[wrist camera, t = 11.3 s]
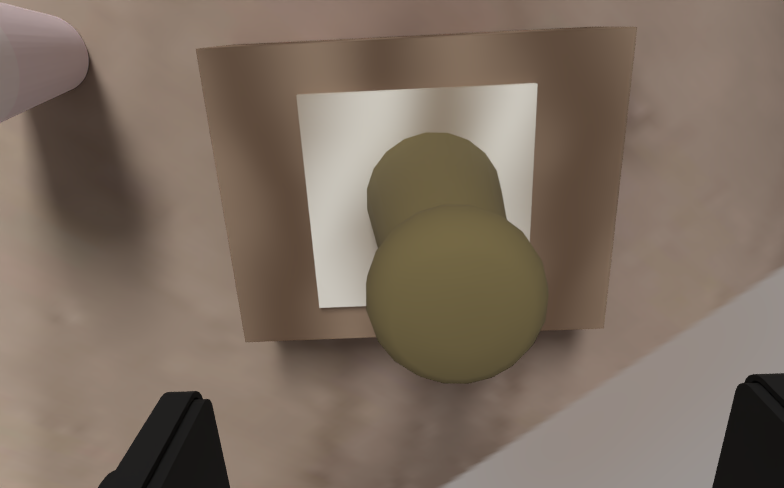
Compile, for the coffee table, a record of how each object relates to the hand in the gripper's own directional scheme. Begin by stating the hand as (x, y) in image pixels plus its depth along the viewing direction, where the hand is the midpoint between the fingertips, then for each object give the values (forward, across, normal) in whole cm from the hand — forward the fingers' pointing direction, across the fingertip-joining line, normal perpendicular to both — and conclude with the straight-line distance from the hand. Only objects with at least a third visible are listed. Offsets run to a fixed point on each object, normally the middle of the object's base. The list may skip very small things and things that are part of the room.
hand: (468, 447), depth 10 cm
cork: (+16, 0, 0) cm, 16 cm away
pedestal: (+21, 0, +1) cm, 21 cm away
